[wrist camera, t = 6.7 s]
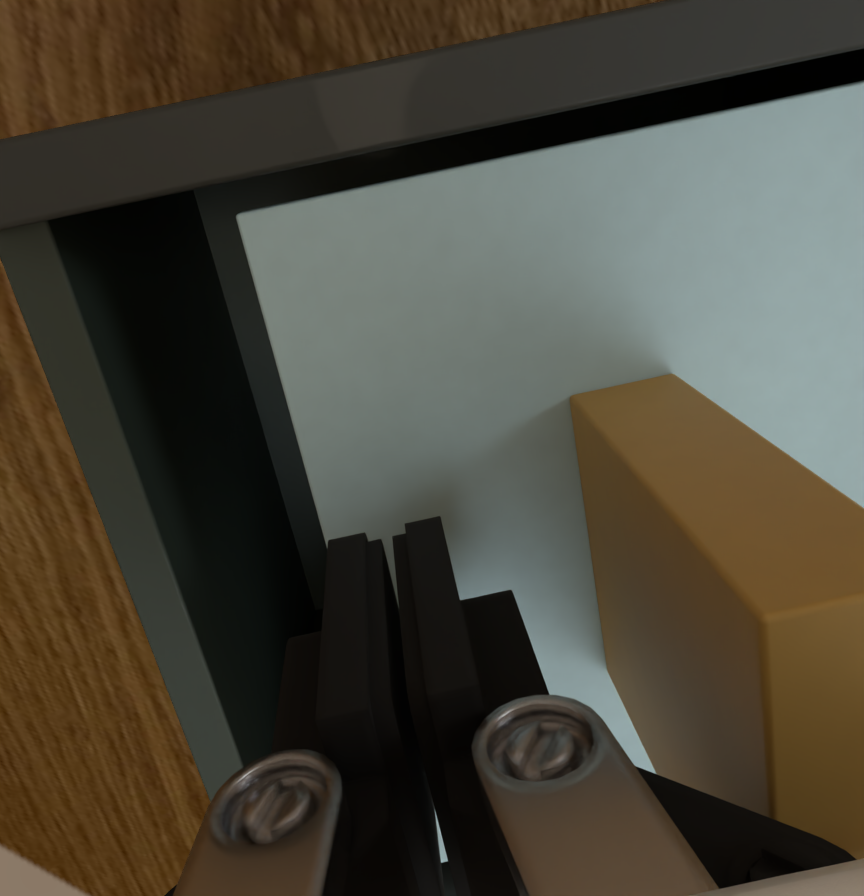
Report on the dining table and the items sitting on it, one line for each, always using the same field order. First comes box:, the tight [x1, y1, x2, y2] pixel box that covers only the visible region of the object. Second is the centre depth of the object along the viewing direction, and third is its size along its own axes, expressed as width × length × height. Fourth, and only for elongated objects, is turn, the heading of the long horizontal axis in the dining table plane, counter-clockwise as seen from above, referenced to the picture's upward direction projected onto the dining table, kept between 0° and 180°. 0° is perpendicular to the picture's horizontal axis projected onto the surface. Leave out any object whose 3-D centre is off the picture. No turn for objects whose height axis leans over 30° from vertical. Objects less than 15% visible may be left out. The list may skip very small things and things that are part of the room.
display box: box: [0, 0, 864, 896], centre depth 18 cm, size 16×15×12 cm
